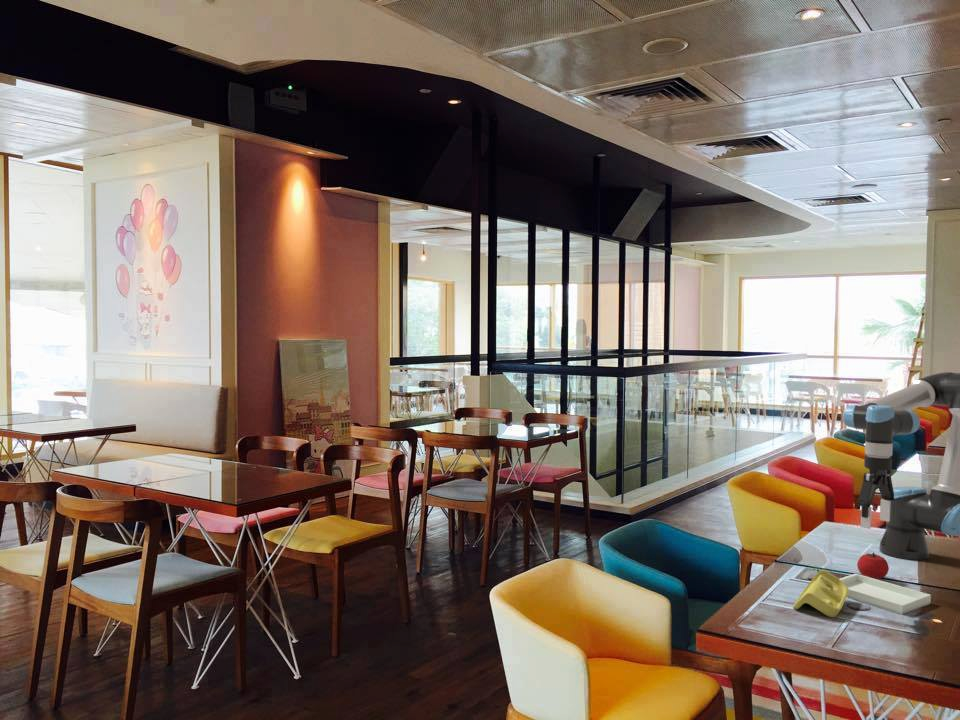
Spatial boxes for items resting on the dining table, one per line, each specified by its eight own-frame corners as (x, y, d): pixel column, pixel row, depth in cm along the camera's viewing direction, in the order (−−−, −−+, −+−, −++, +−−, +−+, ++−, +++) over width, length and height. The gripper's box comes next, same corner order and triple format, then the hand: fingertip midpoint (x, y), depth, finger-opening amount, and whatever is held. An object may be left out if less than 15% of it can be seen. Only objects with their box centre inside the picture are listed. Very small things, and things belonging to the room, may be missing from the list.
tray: (855, 581, 241) (855, 573, 241) (930, 603, 224) (931, 594, 224) (826, 590, 232) (826, 582, 232) (902, 614, 214) (902, 605, 214)
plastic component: (839, 611, 209) (804, 589, 214) (825, 633, 212) (791, 610, 216) (851, 586, 226) (818, 565, 230) (838, 606, 228) (805, 585, 233)
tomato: (851, 573, 250) (852, 548, 249) (879, 573, 250) (881, 549, 249) (864, 582, 241) (865, 556, 241) (893, 583, 241) (894, 557, 240)
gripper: (882, 450, 253) (880, 515, 254) (847, 458, 237) (844, 528, 238) (907, 453, 247) (904, 520, 248) (873, 462, 231) (870, 533, 232)
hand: (875, 524), depth 243 cm, fingers open, 13 cm apart
